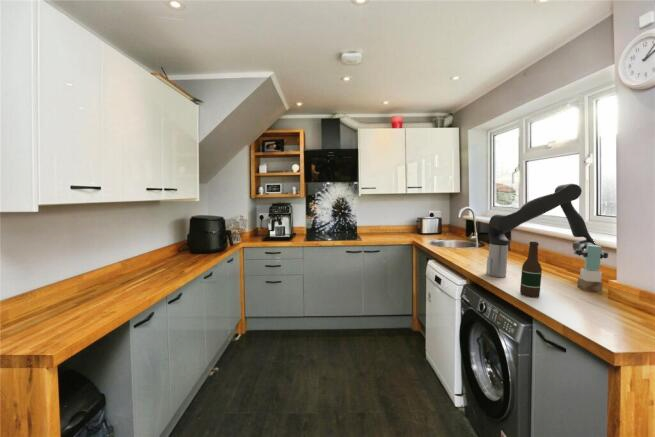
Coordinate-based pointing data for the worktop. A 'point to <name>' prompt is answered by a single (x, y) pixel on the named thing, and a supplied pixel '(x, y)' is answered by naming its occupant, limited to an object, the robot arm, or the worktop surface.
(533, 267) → the beer bottle
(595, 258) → the teal block
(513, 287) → the worktop surface
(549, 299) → the worktop surface
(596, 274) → the cream block
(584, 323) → the worktop surface
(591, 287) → the walnut block
